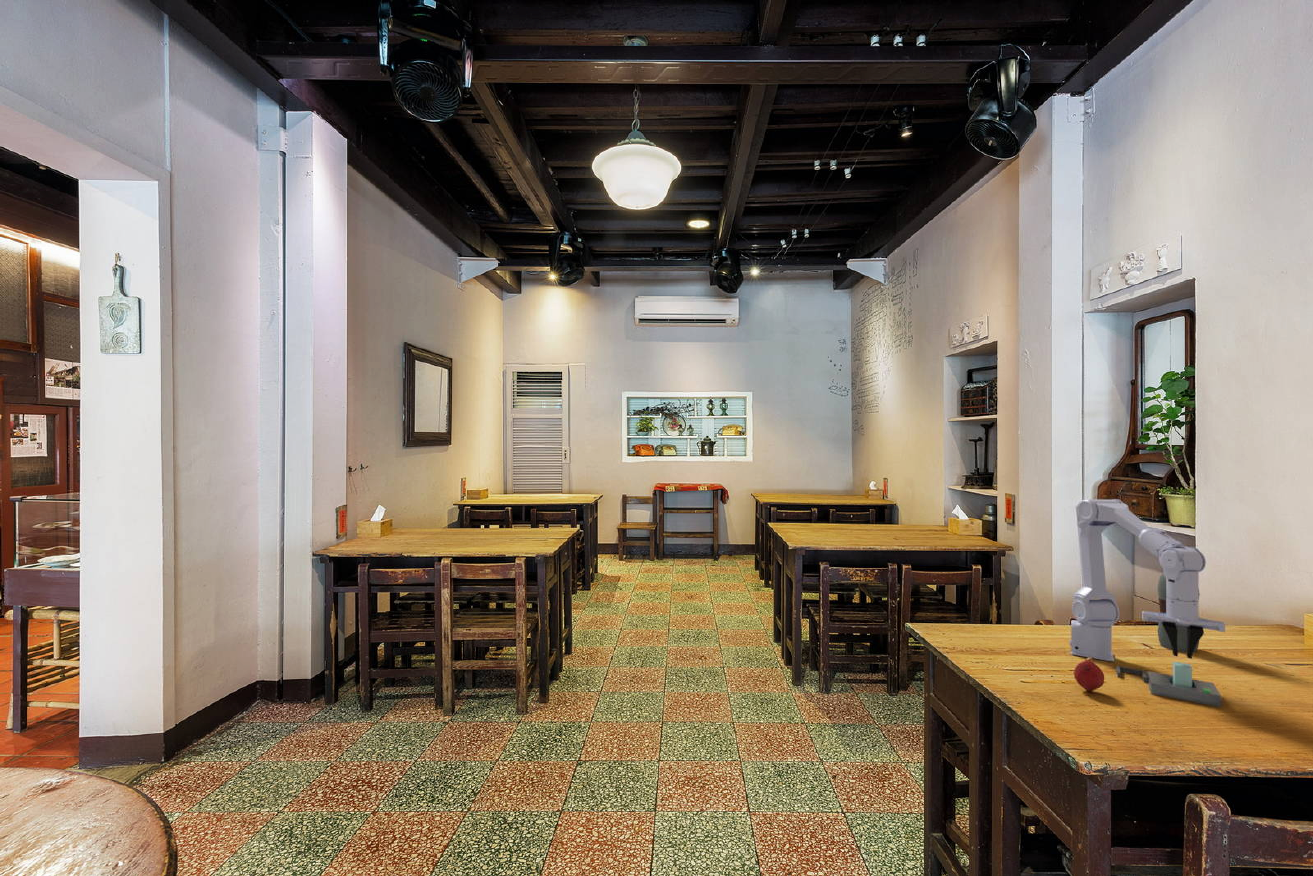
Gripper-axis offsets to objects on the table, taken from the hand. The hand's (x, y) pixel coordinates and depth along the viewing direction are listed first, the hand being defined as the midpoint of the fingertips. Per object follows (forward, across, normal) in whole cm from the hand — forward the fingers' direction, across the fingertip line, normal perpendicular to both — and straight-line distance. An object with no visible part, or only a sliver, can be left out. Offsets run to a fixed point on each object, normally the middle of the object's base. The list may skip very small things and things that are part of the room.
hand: (1182, 656), depth 138 cm
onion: (+9, -18, -12) cm, 23 cm away
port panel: (+9, 0, 0) cm, 9 cm away
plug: (+9, 0, 0) cm, 9 cm away
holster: (+9, -9, +6) cm, 14 cm away
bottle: (+9, +4, +43) cm, 44 cm away
